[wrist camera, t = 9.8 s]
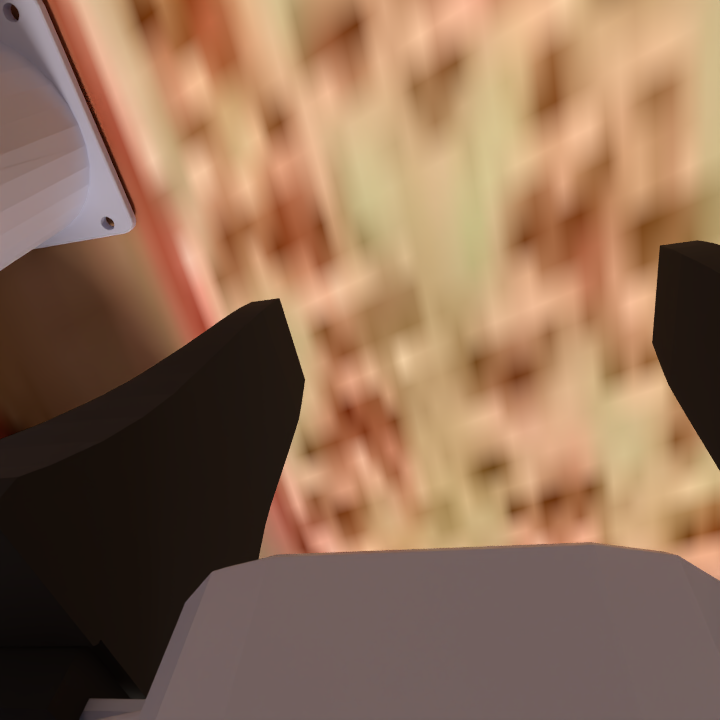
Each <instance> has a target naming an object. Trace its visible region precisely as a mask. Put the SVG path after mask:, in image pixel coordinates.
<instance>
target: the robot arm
mask: <svg viewBox="0 0 720 720" xmlns="http://www.w3.org/2000/svg"><path fill="white" fill-rule="evenodd" d="M12 4H13V5H14V6H15V7H16V8H17V9H18V11H19V20H16V19H15V18H14V17H13V15H12V13H11V5H12ZM106 217H109V218H110V219H112V221H113V222H114V226H111V225H109V224H108V222H107V221H106ZM135 225H136V218H135V215H134V213H133V210H132V208H131V206H130V203H129V201H128V199H127V196H126V194H125V192H124V189H123V187H122V185H121V182H120V180H119V178H118V175H117V173H116V171H115V168H114V166H113V164H112V161H111V159H110V157H109V154H108V152H107V150H106V147H105V145H104V143H103V140H102V138H101V136H100V133H99V131H98V129H97V126H96V124H95V122H94V119H93V117H92V115H91V112H90V110H89V108H88V105H87V103H86V101H85V98H84V96H83V94H82V91H81V89H80V86H79V84H78V82H77V79H76V77H75V75H74V72H73V70H72V68H71V65H70V63H69V61H68V58H67V56H66V54H65V51H64V49H63V47H62V44H61V42H60V40H59V37H58V35H57V33H56V30H55V28H54V26H53V23H52V21H51V19H50V16H49V14H48V12H47V9H46V7H45V5H44V3H43V1H42V0H0V271H1V270H2V269H4V268H5V267H7V266H8V265H10V264H11V263H13V262H14V261H16V260H17V259H19V258H20V257H22V256H23V255H25V254H26V253H28V252H29V251H31V250H33V249H38V248H44V247H50V246H56V245H61V244H67V243H73V242H79V241H84V240H90V239H96V238H102V237H107V236H113V235H119V234H125V233H127V232H130V231H131V230H132V229H133V228H134V227H135ZM652 343H653V346H654V349H655V351H656V354H657V357H658V360H659V362H660V365H661V367H662V370H663V372H664V375H665V377H666V380H667V382H668V385H669V386H670V388H671V390H672V392H673V393H674V395H675V397H676V399H677V400H678V402H679V404H680V405H681V407H682V409H683V410H684V412H685V414H686V416H687V417H688V419H689V421H690V422H691V424H692V426H693V427H694V429H695V430H696V432H697V434H698V435H699V437H700V439H701V440H702V442H703V444H704V445H705V447H706V449H707V450H708V452H709V454H710V455H711V457H712V459H713V460H714V462H715V464H716V465H717V467H718V469H719V470H720V245H718V244H714V243H710V242H705V241H698V240H697V241H690V242H683V243H676V244H668V245H661V246H660V252H659V264H658V277H657V290H656V302H655V315H654V328H653V341H652ZM304 383H305V378H304V375H303V372H302V369H301V365H300V362H299V359H298V356H297V353H296V349H295V346H294V343H293V340H292V337H291V334H290V330H289V327H288V324H287V321H286V318H285V314H284V311H283V308H282V305H281V302H280V299H279V298H278V299H271V300H264V301H257V302H251V303H249V304H247V305H245V306H243V307H241V308H239V309H238V310H236V311H234V312H233V313H231V314H230V315H228V316H227V317H225V318H224V319H222V320H221V321H219V322H218V323H217V324H215V325H214V326H212V327H211V328H209V329H208V330H207V331H205V332H204V333H202V334H201V335H199V336H198V337H197V338H195V339H194V340H192V341H191V342H189V343H188V344H187V345H185V346H184V347H182V348H181V349H179V350H177V351H176V352H174V353H173V354H171V355H170V356H168V357H167V358H165V359H164V360H162V361H161V362H159V363H157V364H156V365H154V366H153V367H151V368H150V369H148V370H147V371H145V372H143V373H142V374H140V375H138V376H137V377H135V378H133V379H132V380H130V381H128V382H126V383H125V384H123V385H121V386H119V387H117V388H115V389H113V390H111V391H110V392H108V393H106V394H104V395H102V396H100V397H98V398H96V399H94V400H92V401H90V402H88V403H86V404H84V405H81V406H79V407H77V408H75V409H72V410H70V411H68V412H66V413H64V414H61V415H59V416H57V417H55V418H52V419H50V420H48V421H46V422H44V423H41V424H39V425H36V426H34V427H31V428H29V429H26V430H24V431H21V432H18V433H16V434H13V435H11V436H8V437H5V438H2V439H0V720H720V581H719V580H717V579H716V578H714V577H712V576H711V575H709V574H707V573H706V572H704V571H702V570H701V569H699V568H698V567H696V566H694V565H693V564H691V563H689V562H688V561H686V560H684V559H683V558H681V557H679V556H678V555H674V554H670V553H666V552H662V551H654V550H646V549H638V548H631V547H623V546H615V545H607V544H599V543H591V542H588V543H562V544H537V545H512V546H487V547H461V548H436V549H411V550H386V551H360V552H335V553H310V554H285V555H274V556H270V557H266V558H262V559H258V558H259V553H260V548H261V543H262V539H263V534H264V529H265V524H266V521H267V517H268V513H269V510H270V506H271V503H272V500H273V497H274V494H275V491H276V488H277V485H278V482H279V479H280V476H281V473H282V470H283V467H284V464H285V461H286V458H287V455H288V452H289V449H290V445H291V442H292V439H293V436H294V433H295V430H296V427H297V423H298V420H299V415H300V409H301V404H302V397H303V390H304Z"/></svg>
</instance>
